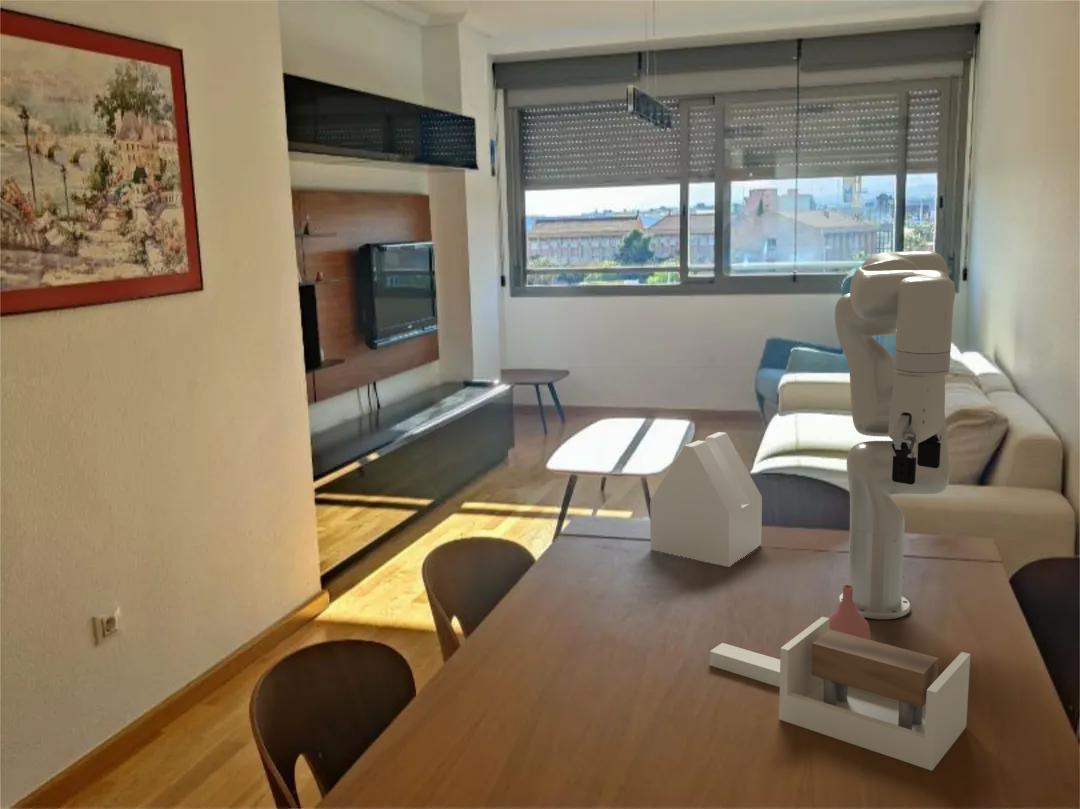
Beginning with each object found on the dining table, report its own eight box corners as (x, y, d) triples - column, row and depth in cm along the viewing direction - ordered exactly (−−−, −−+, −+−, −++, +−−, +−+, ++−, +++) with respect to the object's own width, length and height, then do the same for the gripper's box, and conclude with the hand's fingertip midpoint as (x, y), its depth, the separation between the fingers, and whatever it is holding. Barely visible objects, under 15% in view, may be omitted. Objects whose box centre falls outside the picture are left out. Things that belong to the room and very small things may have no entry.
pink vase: (870, 647, 165) (872, 580, 162) (870, 667, 158) (872, 597, 155) (822, 642, 167) (824, 576, 165) (820, 661, 160) (822, 592, 158)
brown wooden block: (828, 660, 147) (829, 629, 146) (936, 691, 137) (938, 657, 136) (811, 675, 142) (812, 643, 141) (921, 707, 132) (923, 673, 131)
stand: (820, 683, 153) (822, 616, 151) (966, 727, 139) (970, 654, 136) (779, 719, 142) (780, 648, 140) (932, 770, 128) (936, 692, 126)
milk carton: (650, 550, 216) (649, 440, 211) (685, 531, 227) (685, 427, 223) (729, 567, 204) (729, 451, 199) (761, 546, 216) (762, 437, 211)
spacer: (722, 656, 163) (722, 642, 162) (799, 680, 154) (800, 665, 153) (709, 665, 160) (709, 651, 159) (788, 689, 151) (788, 675, 150)
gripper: (918, 350, 150) (912, 457, 154) (872, 369, 137) (867, 484, 141) (968, 355, 145) (961, 464, 149) (925, 374, 133) (919, 494, 136)
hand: (916, 474), depth 145 cm, fingers open, 9 cm apart
